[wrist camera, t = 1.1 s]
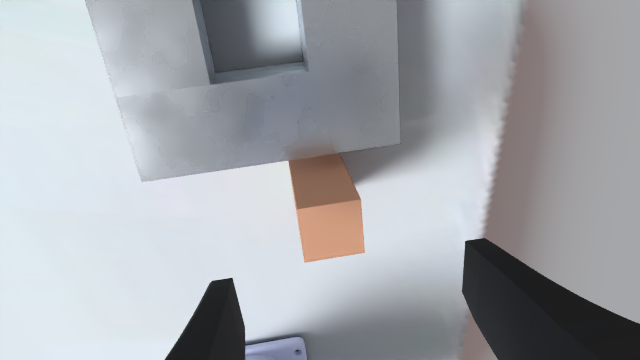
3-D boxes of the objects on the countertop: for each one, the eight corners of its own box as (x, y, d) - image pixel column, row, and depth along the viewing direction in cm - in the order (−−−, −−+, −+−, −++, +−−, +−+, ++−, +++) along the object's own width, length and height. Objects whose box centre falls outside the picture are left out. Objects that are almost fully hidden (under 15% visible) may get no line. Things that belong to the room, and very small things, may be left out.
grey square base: (386, 127, 23) (410, 155, 19) (153, 160, 22) (133, 197, 18) (374, -155, 18) (404, -187, 14) (69, -125, 17) (18, -152, 13)
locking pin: (340, 190, 24) (364, 252, 19) (294, 197, 24) (304, 262, 19) (336, 146, 23) (360, 199, 18) (287, 154, 23) (296, 209, 18)
